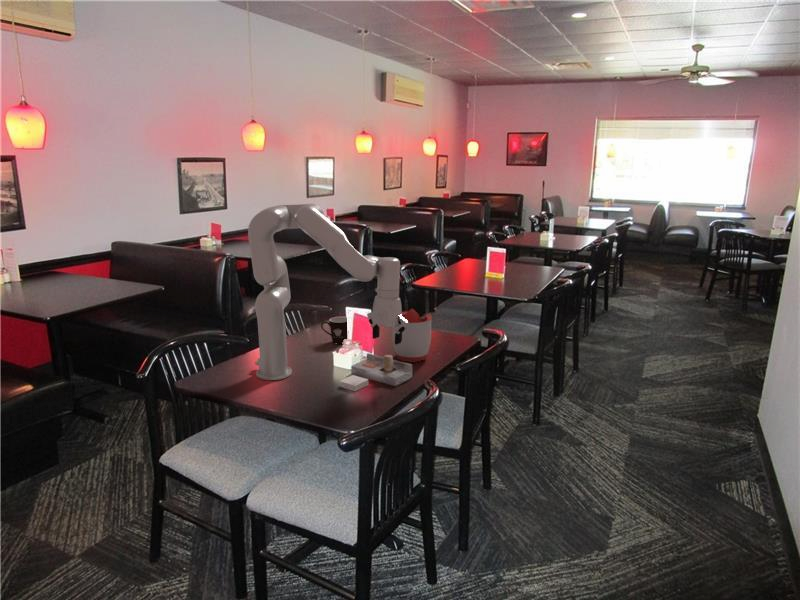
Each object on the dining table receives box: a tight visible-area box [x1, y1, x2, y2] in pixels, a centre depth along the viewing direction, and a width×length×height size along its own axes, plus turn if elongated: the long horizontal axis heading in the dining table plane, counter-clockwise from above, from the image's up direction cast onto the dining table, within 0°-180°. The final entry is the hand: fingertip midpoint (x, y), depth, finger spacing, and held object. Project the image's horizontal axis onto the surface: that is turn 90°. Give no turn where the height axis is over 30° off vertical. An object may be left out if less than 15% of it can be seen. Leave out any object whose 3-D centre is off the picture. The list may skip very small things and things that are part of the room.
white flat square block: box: [339, 374, 369, 392], centre depth 193 cm, size 7×7×2 cm
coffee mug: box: [320, 316, 348, 345], centre depth 239 cm, size 12×9×10 cm
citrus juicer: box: [391, 308, 433, 363], centre depth 219 cm, size 16×17×20 cm
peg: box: [383, 354, 394, 373], centre depth 200 cm, size 3×3×8 cm
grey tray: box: [350, 352, 413, 387], centre depth 202 cm, size 20×10×5 cm, turn 55°
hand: (386, 340), depth 197 cm, fingers open, 9 cm apart
